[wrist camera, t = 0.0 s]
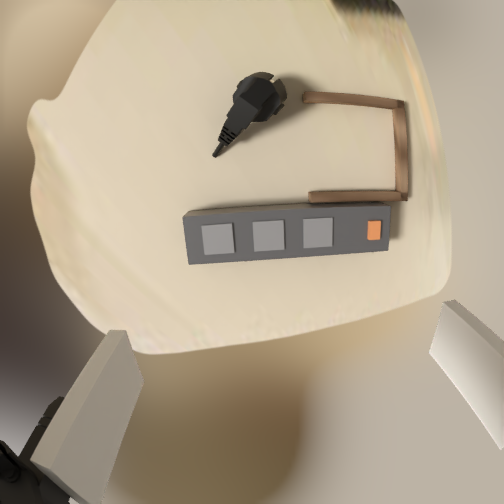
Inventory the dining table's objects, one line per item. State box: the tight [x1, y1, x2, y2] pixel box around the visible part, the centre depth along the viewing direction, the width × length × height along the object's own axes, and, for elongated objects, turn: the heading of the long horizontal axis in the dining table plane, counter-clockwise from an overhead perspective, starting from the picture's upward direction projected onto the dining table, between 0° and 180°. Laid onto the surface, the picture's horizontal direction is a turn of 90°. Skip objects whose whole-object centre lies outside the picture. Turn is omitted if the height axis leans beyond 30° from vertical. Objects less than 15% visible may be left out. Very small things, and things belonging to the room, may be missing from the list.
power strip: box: [183, 201, 391, 265], centre depth 35 cm, size 6×26×4 cm, turn 94°
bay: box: [303, 92, 408, 203], centre depth 34 cm, size 14×14×2 cm
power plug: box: [212, 72, 287, 158], centre depth 31 cm, size 6×8×12 cm
